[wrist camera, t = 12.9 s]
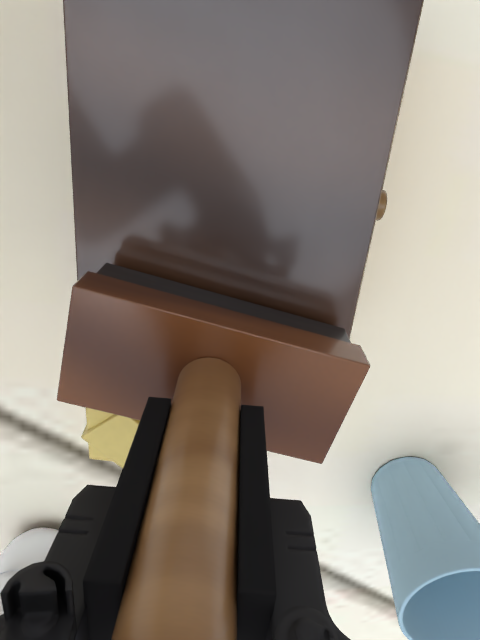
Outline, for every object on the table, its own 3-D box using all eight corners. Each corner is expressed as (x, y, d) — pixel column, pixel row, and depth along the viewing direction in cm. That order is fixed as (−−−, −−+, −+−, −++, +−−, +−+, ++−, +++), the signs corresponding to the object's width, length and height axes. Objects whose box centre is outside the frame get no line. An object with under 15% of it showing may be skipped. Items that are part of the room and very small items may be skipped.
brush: (101, 255, 18) (-198, 552, 6) (351, 325, 19) (532, 690, 7) (85, 356, 20) (-162, 730, 8) (311, 413, 21) (397, 813, 9)
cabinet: (126, -25, 22) (56, -118, 14) (388, 6, 23) (472, -67, 14) (127, 310, 29) (81, 380, 21) (325, 328, 30) (357, 404, 22)
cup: (382, 531, 37) (430, 669, 28) (339, 472, 35) (376, 601, 25) (467, 494, 36) (549, 627, 26) (428, 429, 33) (504, 550, 24)
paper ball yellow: (101, 358, 20) (78, 407, 18) (178, 367, 21) (167, 417, 18) (103, 414, 22) (83, 465, 20) (174, 422, 22) (163, 474, 20)
